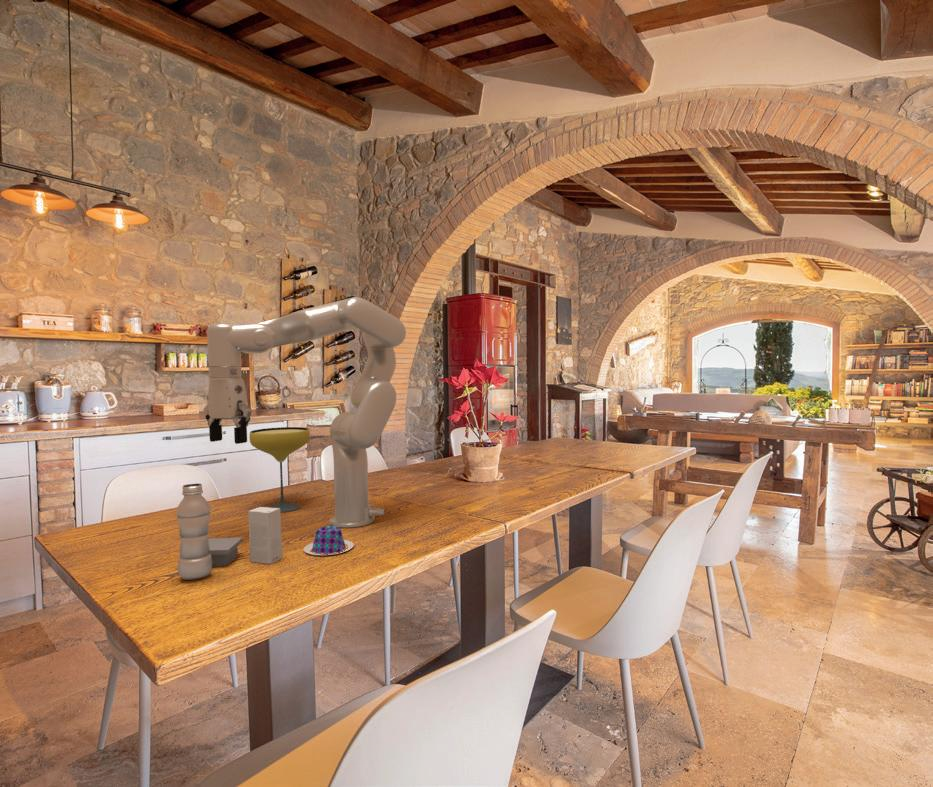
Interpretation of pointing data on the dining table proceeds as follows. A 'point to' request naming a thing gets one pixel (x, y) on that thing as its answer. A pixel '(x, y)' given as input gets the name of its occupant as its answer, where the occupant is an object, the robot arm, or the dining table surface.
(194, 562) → the plastic bottle
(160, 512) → the dining table surface
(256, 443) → the cocktail glass
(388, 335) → the robot arm
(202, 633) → the dining table surface
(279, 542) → the skincare box
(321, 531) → the pudding
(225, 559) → the stand
